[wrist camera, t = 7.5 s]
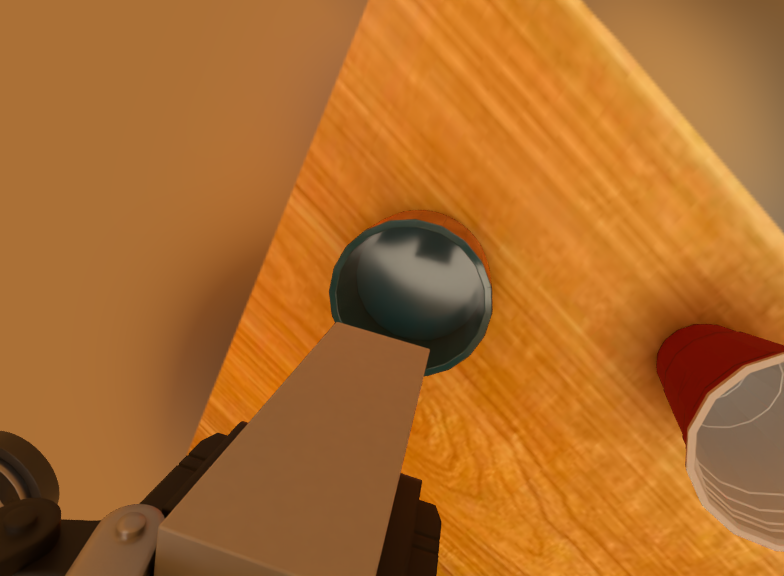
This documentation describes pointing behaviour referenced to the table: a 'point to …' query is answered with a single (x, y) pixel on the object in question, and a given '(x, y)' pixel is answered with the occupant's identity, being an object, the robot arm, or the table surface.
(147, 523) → the robot arm
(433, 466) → the table surface
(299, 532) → the block
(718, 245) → the table surface
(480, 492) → the table surface
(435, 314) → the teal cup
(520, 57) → the table surface
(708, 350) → the plastic cup
